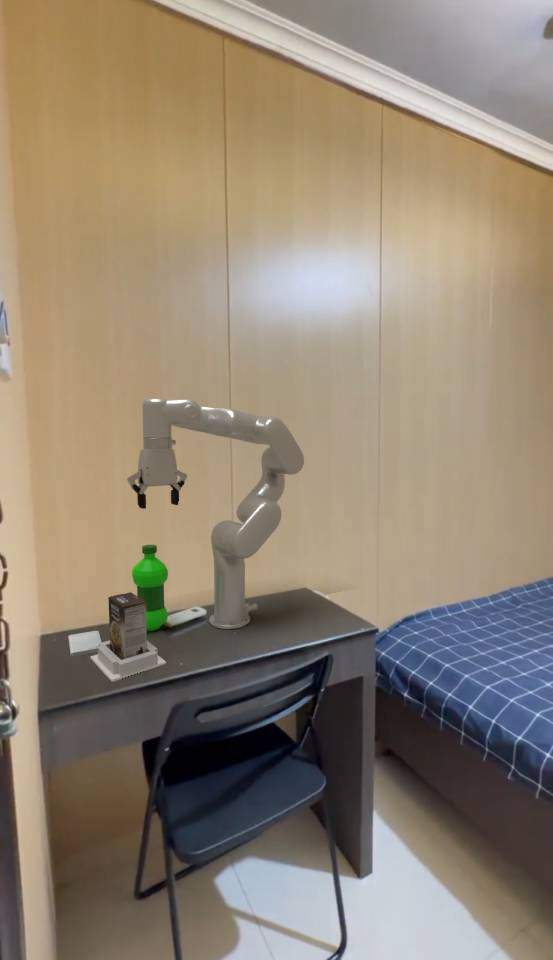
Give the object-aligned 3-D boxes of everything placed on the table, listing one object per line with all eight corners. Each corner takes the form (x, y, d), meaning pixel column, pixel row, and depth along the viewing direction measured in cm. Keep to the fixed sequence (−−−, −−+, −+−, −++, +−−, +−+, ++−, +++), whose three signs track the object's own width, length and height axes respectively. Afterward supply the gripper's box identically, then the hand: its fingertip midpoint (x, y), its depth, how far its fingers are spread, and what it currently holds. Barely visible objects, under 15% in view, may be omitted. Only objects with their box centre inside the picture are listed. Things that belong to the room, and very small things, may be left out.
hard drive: (103, 647, 131) (98, 629, 142) (70, 653, 127) (67, 634, 138) (103, 653, 131) (98, 635, 142) (70, 659, 127) (68, 640, 138)
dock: (141, 643, 135) (140, 631, 135) (166, 664, 124) (165, 650, 123) (90, 658, 126) (89, 645, 126) (111, 682, 115) (111, 667, 114)
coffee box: (109, 656, 126) (107, 596, 125) (132, 649, 131) (130, 591, 129) (124, 669, 120) (122, 606, 118) (148, 661, 124) (146, 600, 122)
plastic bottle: (128, 626, 147) (125, 545, 144) (160, 618, 153) (158, 540, 151) (141, 637, 139) (139, 552, 136) (175, 628, 146) (173, 546, 143)
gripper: (179, 443, 141) (180, 501, 143) (121, 444, 130) (123, 507, 132) (192, 444, 135) (193, 504, 137) (132, 445, 124) (134, 511, 126)
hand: (158, 506), depth 134 cm, fingers open, 9 cm apart
